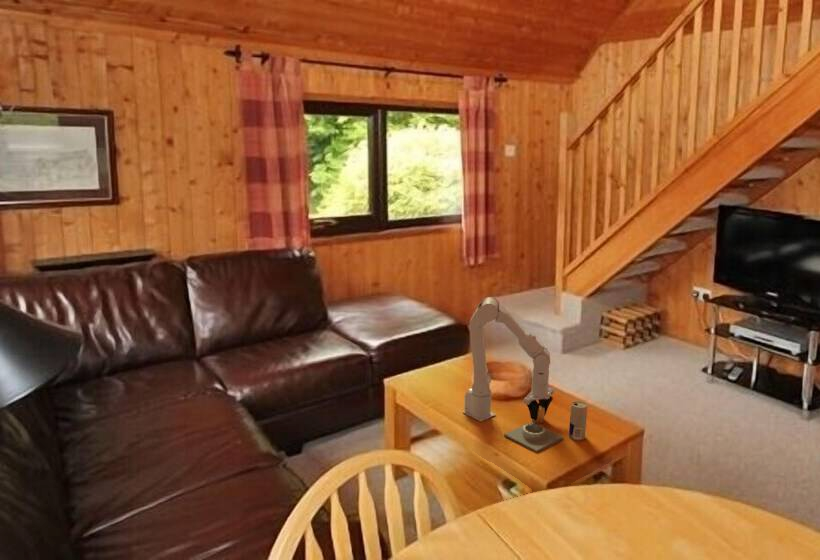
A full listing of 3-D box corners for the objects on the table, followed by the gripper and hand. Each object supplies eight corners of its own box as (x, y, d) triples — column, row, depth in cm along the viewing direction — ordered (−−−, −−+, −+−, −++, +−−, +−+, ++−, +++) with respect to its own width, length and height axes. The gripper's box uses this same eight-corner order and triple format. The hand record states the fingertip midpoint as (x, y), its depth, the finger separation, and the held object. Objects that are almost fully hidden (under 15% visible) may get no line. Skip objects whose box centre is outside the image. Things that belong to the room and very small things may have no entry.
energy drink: (572, 431, 207) (575, 399, 204) (587, 436, 203) (590, 404, 200) (566, 437, 203) (568, 405, 200) (581, 442, 199) (583, 409, 196)
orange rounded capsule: (529, 420, 215) (529, 407, 213) (536, 416, 217) (537, 404, 216) (538, 424, 211) (539, 411, 210) (546, 420, 214) (547, 408, 213)
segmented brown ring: (518, 434, 203) (518, 428, 202) (532, 428, 207) (532, 421, 207) (535, 443, 197) (535, 436, 196) (549, 436, 202) (549, 429, 201)
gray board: (504, 436, 203) (504, 433, 203) (530, 423, 212) (530, 421, 212) (536, 452, 193) (536, 450, 193) (563, 439, 201) (563, 436, 201)
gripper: (535, 391, 203) (533, 427, 206) (561, 380, 212) (559, 414, 215) (520, 384, 208) (518, 419, 212) (546, 374, 217) (543, 408, 221)
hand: (538, 416), depth 214 cm, fingers closed on orange rounded capsule, 4 cm apart
